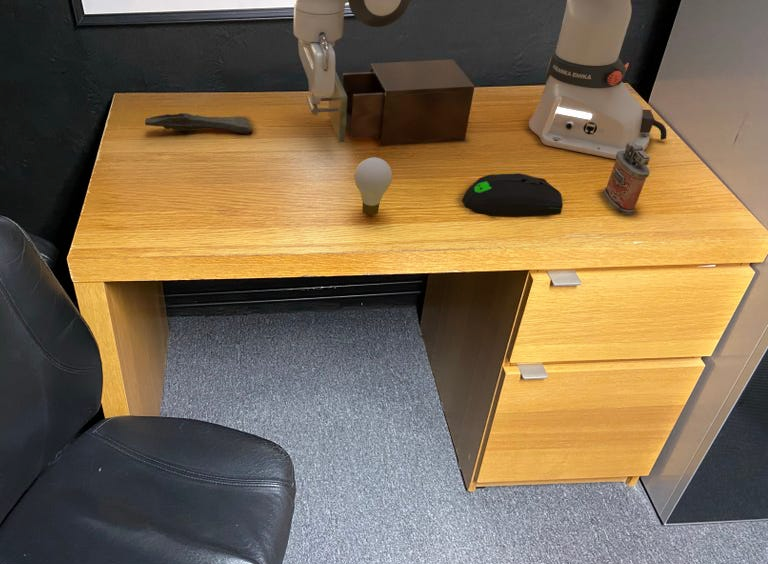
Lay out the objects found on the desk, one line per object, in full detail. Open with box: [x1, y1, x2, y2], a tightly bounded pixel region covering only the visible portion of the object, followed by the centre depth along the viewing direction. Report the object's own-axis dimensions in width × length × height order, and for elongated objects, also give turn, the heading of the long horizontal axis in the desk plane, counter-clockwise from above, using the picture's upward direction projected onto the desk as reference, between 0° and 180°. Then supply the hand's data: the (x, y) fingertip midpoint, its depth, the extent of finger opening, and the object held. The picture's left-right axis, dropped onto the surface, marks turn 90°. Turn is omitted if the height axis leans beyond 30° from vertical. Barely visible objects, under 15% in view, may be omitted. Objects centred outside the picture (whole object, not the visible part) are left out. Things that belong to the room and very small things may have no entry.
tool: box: [144, 112, 253, 134], centre depth 137 cm, size 21×8×3 cm, turn 101°
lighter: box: [602, 142, 651, 216], centre depth 113 cm, size 8×3×10 cm, turn 5°
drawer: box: [306, 70, 385, 143], centre depth 134 cm, size 20×12×9 cm, turn 97°
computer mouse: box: [461, 172, 564, 218], centre depth 117 cm, size 11×16×4 cm
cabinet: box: [369, 59, 476, 147], centre depth 135 cm, size 17×14×11 cm
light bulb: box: [354, 156, 393, 217], centre depth 111 cm, size 6×6×10 cm
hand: (314, 101), depth 132 cm, fingers closed, pressing on drawer
